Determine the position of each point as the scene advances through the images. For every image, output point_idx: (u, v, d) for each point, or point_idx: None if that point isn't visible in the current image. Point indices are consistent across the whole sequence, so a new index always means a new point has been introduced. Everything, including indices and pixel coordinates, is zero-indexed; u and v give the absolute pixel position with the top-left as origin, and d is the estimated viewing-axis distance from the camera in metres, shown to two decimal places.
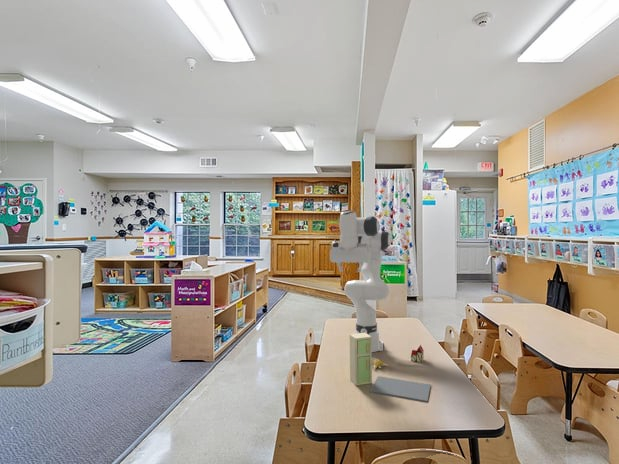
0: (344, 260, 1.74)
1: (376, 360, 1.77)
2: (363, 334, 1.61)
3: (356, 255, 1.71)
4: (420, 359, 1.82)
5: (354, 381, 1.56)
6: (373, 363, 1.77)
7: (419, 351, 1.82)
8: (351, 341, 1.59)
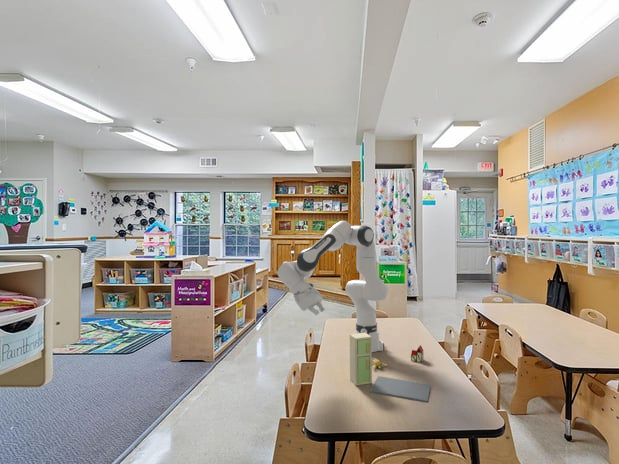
0: None
1: (376, 360, 1.77)
2: (363, 334, 1.61)
3: None
4: (420, 359, 1.82)
5: (354, 381, 1.56)
6: (373, 363, 1.77)
7: (419, 351, 1.82)
8: (351, 341, 1.59)
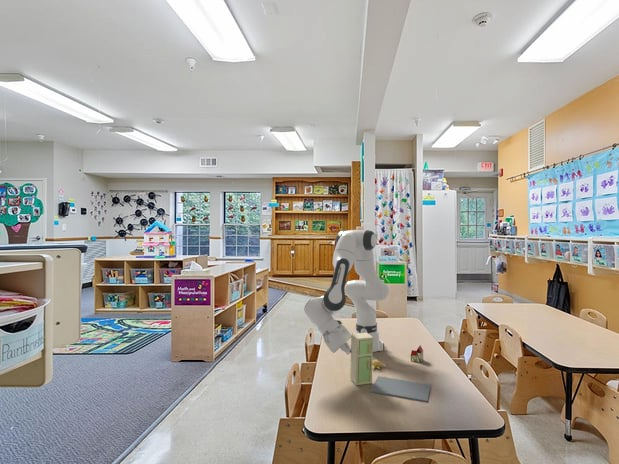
0: None
1: (374, 360, 1.76)
2: (365, 334, 1.60)
3: None
4: (420, 359, 1.82)
5: (354, 381, 1.56)
6: None
7: (419, 351, 1.82)
8: (353, 341, 1.58)
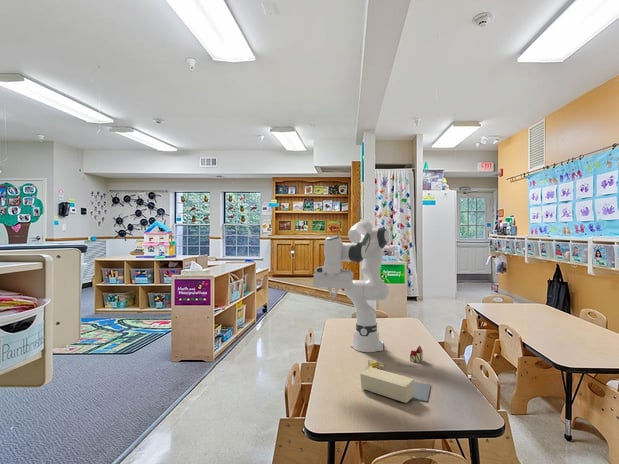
0: (327, 285, 1.74)
1: (372, 361, 1.75)
2: (412, 385, 1.41)
3: (339, 281, 1.72)
4: (419, 360, 1.81)
5: (363, 386, 1.50)
6: (369, 364, 1.76)
7: (418, 352, 1.81)
8: (399, 390, 1.39)
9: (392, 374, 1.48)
